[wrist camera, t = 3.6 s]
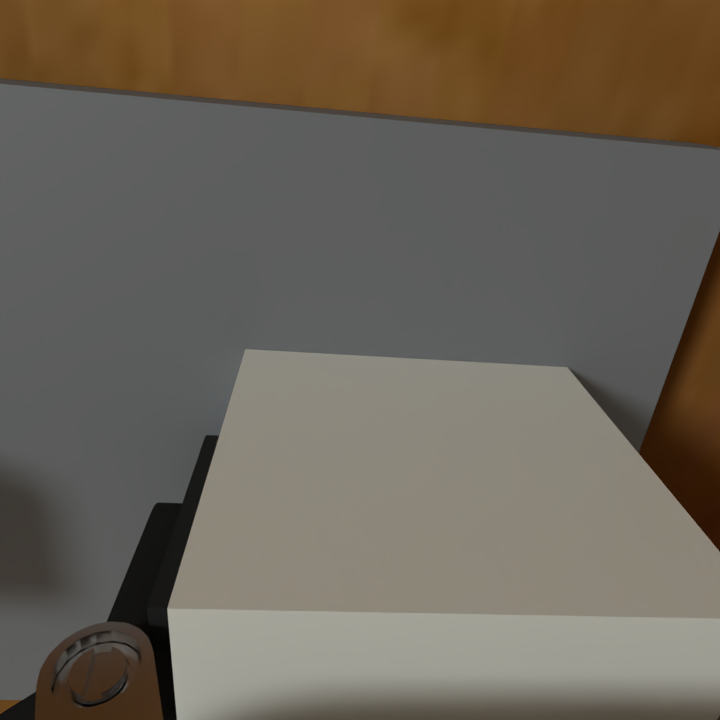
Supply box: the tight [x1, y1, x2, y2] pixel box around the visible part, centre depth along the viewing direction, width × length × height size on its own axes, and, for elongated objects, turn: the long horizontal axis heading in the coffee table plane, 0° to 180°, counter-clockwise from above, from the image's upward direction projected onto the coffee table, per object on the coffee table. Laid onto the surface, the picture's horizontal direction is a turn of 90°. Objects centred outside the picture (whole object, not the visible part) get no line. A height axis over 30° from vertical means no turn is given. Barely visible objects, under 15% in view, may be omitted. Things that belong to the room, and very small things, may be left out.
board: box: [0, 79, 720, 700], centre depth 12 cm, size 22×14×2 cm, turn 85°
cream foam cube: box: [167, 349, 720, 720], centre depth 9 cm, size 6×6×6 cm
